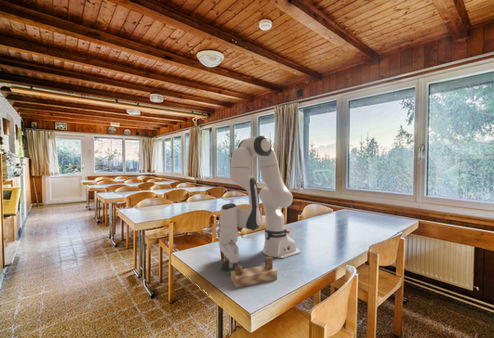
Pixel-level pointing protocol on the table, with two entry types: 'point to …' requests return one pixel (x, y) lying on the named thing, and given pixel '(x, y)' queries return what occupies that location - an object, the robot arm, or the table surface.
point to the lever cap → (225, 264)
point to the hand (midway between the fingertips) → (228, 265)
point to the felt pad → (226, 270)
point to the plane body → (253, 274)
